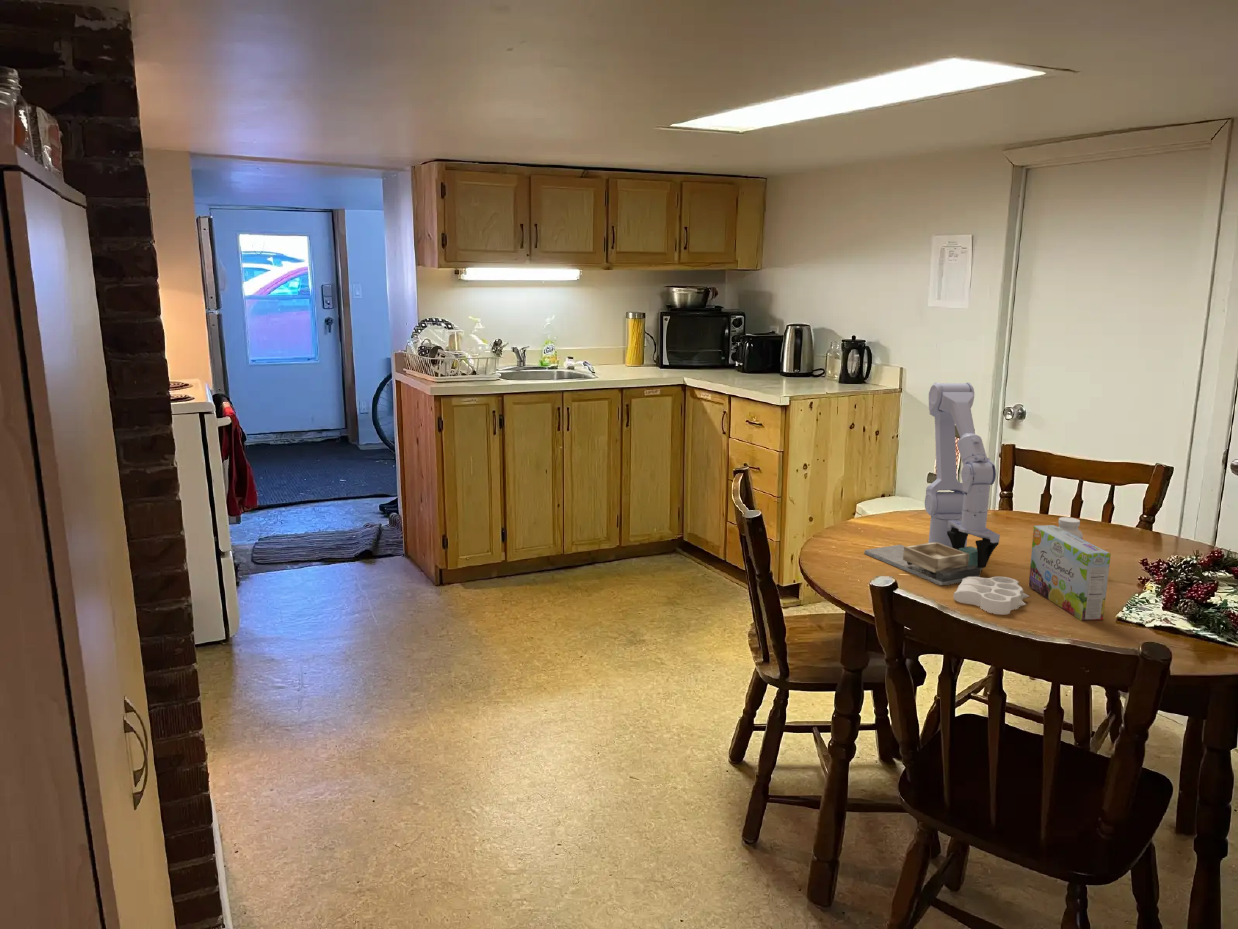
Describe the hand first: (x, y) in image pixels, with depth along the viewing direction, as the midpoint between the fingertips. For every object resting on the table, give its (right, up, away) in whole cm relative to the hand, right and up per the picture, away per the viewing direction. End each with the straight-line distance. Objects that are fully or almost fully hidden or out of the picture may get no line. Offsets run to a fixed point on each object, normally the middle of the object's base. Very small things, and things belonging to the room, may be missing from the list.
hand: (969, 563), depth 217 cm
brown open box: (-10, -1, -3) cm, 10 cm away
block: (0, -1, 0) cm, 2 cm away
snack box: (+12, -7, -22) cm, 26 cm away
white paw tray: (-3, -6, -21) cm, 22 cm away
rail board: (-12, -1, +2) cm, 12 cm away
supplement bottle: (+23, -2, 0) cm, 23 cm away
